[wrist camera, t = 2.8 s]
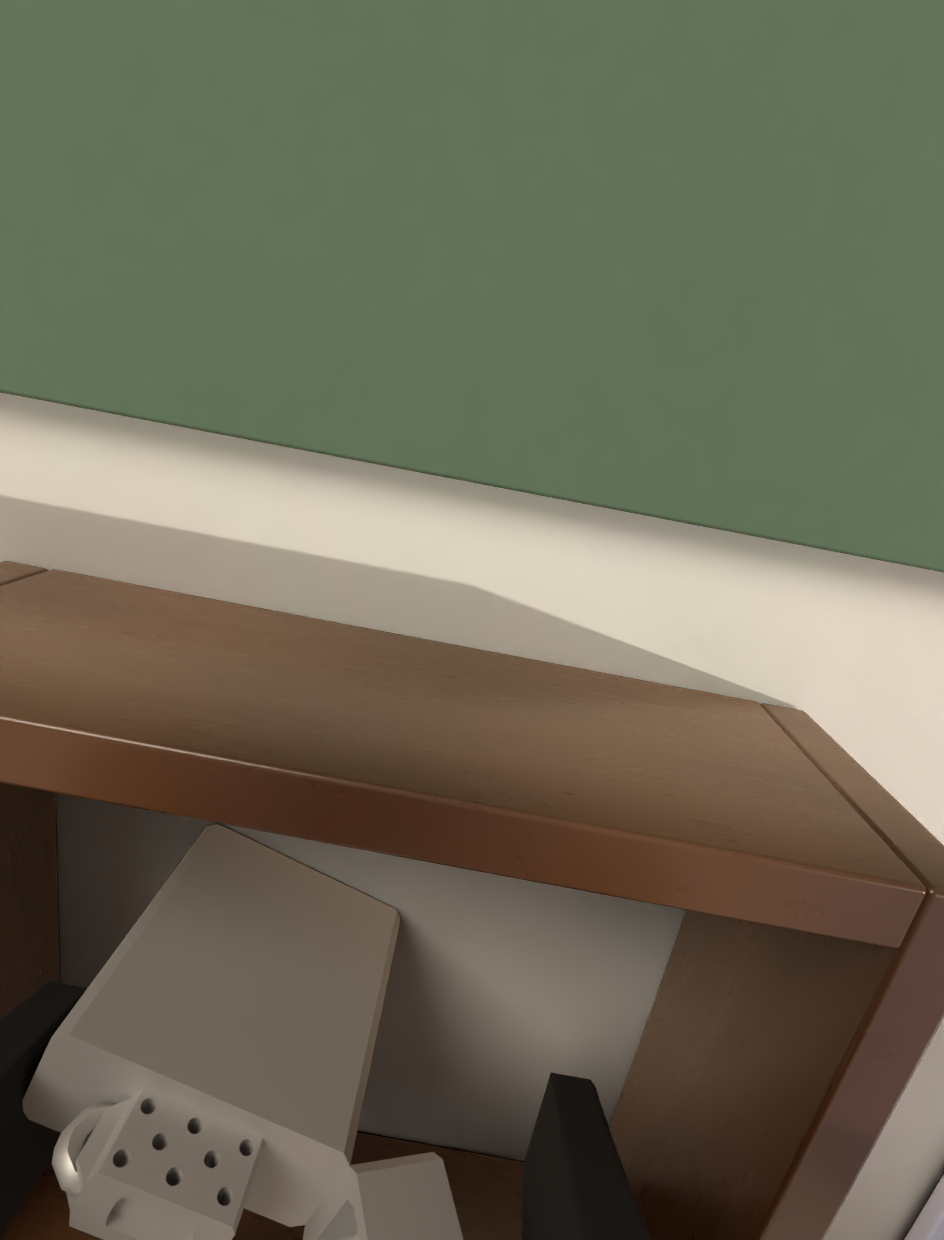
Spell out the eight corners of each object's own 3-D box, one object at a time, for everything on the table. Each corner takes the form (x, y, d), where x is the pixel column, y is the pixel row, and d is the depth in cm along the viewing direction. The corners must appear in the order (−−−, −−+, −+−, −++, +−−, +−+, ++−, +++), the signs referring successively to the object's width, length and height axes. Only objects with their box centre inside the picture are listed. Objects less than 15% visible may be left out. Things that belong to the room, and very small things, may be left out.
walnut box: (805, 709, 11) (1010, 904, 6) (618, 1202, 14) (666, 1533, 10) (5, 559, 10) (-340, 652, 6) (29, 1096, 14) (-175, 1385, 10)
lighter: (177, 885, 12) (-350, 1635, 5) (209, 819, 12) (-323, 1540, 4) (493, 1032, 13) (480, 1884, 5) (536, 976, 13) (587, 1827, 5)
